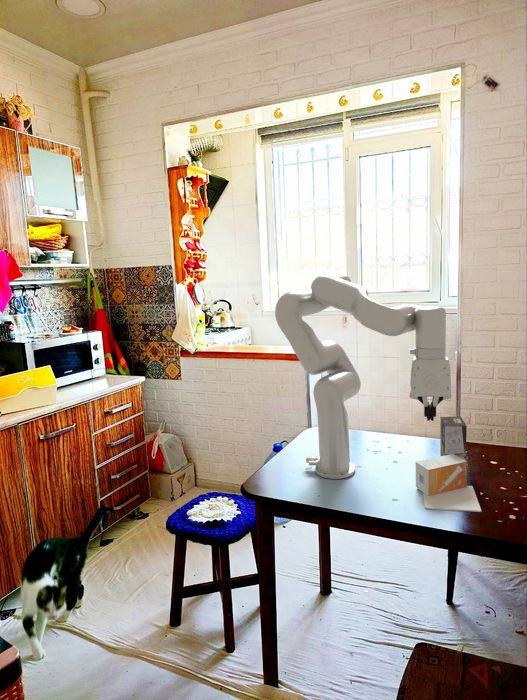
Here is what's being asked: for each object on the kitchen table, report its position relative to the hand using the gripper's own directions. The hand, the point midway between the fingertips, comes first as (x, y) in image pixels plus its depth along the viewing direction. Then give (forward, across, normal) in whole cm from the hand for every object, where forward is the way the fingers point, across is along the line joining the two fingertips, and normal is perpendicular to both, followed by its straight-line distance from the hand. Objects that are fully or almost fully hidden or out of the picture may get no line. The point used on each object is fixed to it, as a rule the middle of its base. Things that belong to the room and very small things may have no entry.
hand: (430, 419), depth 135 cm
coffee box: (+23, +8, +18) cm, 30 cm away
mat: (+23, +5, 0) cm, 23 cm away
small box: (+18, -2, +2) cm, 19 cm away
